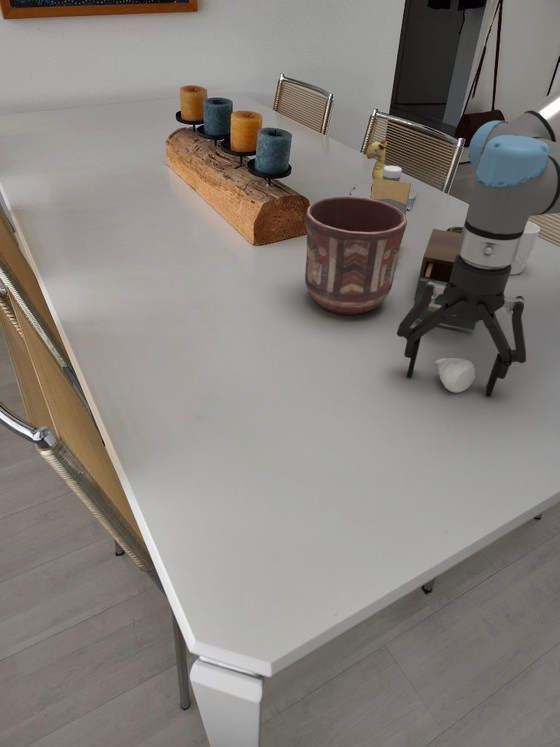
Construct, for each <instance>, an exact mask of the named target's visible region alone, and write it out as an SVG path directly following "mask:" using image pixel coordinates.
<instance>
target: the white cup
mask: <svg viewBox="0 0 560 747" xmlns="http://www.w3.org/2000/svg"><path fill="white" fill-rule="evenodd" d="M540 230H541V228H540V226H539V225H538V224H536V223H534V222H532V221H530V220H528V221H527V224H526V226H525V229H524V232H523V234H522V237H521V240H520V243H519V246H518V250H517V253H516V256H515V259H514V262H513V263H512V264H511V267H512V268H511V272H510V275H511V276H514V275H520V274H521V273H523V271H524V269H525V266H526V264H527V261H528V260H529V257H530V256H531V253H532V250H533V248H534V246H535V243H536V240H537V239H538V235H539V233H540ZM510 275H509V276H510Z"/></svg>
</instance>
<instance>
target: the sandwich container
mask: <svg viewBox="0 0 560 747" xmlns="http://www.w3.org/2000/svg"><path fill="white" fill-rule="evenodd" d="M372 184H373V185H372V191H371V196H370V199H373V200H377V201H381V202H384V203H387V204H389V205H391V206H393V207H396V208H398V209H399V210H400V211H401V212H402V213H403V214H404V215H407V211H408V210H407V204H408V199H409V193H410V190H411V187H412V183H411V182H406V181H400V180H399V181H392V180H383V179H374V180H373V179H372ZM400 249H401V247H400V248H399V250H400ZM399 253H400V251H399V252H398V256H397V260H396V266H395V269H396V268H397V264H398V260H399Z"/></svg>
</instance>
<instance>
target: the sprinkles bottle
mask: <svg viewBox="0 0 560 747" xmlns="http://www.w3.org/2000/svg"><path fill="white" fill-rule="evenodd" d="M402 174H403V169H402V167H400V166H397V165H384V166H383V180H392V181H399V182H400V181H401V177H402Z"/></svg>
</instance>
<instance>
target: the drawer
mask: <svg viewBox="0 0 560 747" xmlns="http://www.w3.org/2000/svg"><path fill="white" fill-rule="evenodd" d="M452 270H453V266H451V265H445V264H440V263H434V262H429V265H428V268H427V271H426V275H425V278H420V280H419V279H418V280H419V284H418V283H417V284H418V289H417V288H416V289H417V293H416V292H415V294H416V298H415V297H414V298H415V301H414V303H413V306H414V305H415V304H416V302H417V301H418V300H419V298H420V297H421V296H422V294H423V293H424V291H425V287H426V284H427V281H428V280H430V279H433V280H434V281H435V283H436V284H440V285H445V286H446V285H447V284H448V282H449V281H450V277H451V274H452ZM445 302H446V300H445V298H444V296H443V294H440V295H438V296H437V298H435V299H431V300H430V302H429V304H428V305H427V307H426V308H425V309H424V311H423V312H422V313H421V314H420V316H419V317H418V318H417V320H421V321H423V320H424V319H425V318H427V317H428V316H429V315H431V314H432V313H433V312H435V311H436V310H437V309H439V308H440V307H441V306H442V305H443V304H444V303H445ZM440 324H441V325H447V326H451V327H454V328H455V327H457V328H460V329H466V330H470V331H475V328H476V324H477V322H475V321H472V320H469V319H461V318H456V316H455V315H453V316H451V317H450V318H448V319H447V320H444V321H442V322H441V323H440Z"/></svg>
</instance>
